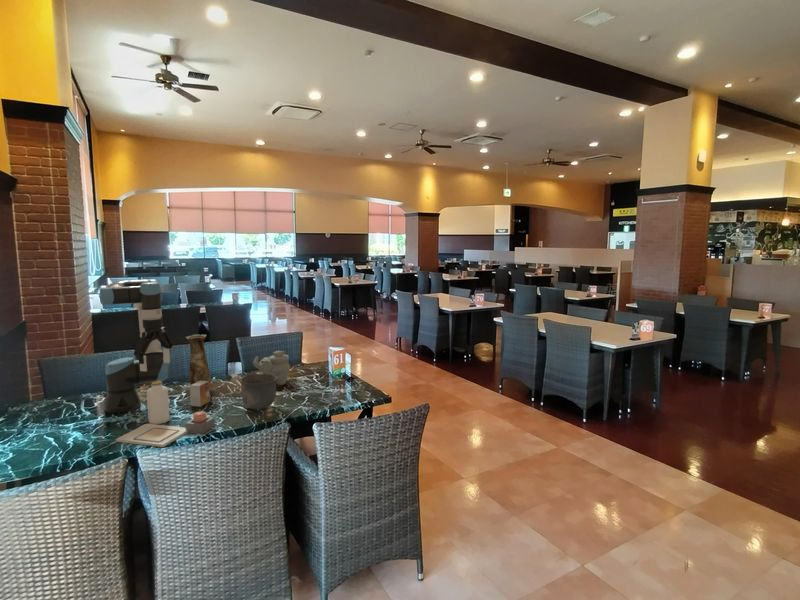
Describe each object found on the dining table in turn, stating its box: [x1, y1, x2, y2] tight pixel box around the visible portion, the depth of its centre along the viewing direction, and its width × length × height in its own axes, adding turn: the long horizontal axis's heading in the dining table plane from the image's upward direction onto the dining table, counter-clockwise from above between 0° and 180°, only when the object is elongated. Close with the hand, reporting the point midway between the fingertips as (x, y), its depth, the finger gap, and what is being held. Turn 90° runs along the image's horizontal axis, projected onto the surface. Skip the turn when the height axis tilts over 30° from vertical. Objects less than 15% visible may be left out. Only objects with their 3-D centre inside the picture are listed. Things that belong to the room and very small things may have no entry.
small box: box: [189, 381, 211, 407], centre depth 221 cm, size 8×6×10 cm
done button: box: [192, 410, 207, 423], centre depth 190 cm, size 5×5×4 cm
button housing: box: [184, 416, 215, 435], centre depth 191 cm, size 8×8×4 cm
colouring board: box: [115, 423, 188, 448], centre depth 184 cm, size 22×16×1 cm
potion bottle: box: [146, 380, 171, 425], centre depth 198 cm, size 8×8×18 cm
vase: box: [185, 333, 211, 386], centre depth 239 cm, size 10×11×30 cm
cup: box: [239, 372, 278, 410], centre depth 214 cm, size 18×18×15 cm
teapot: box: [252, 350, 291, 386], centre depth 253 cm, size 16×15×19 cm
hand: (155, 366), depth 196 cm, fingers open, 13 cm apart
